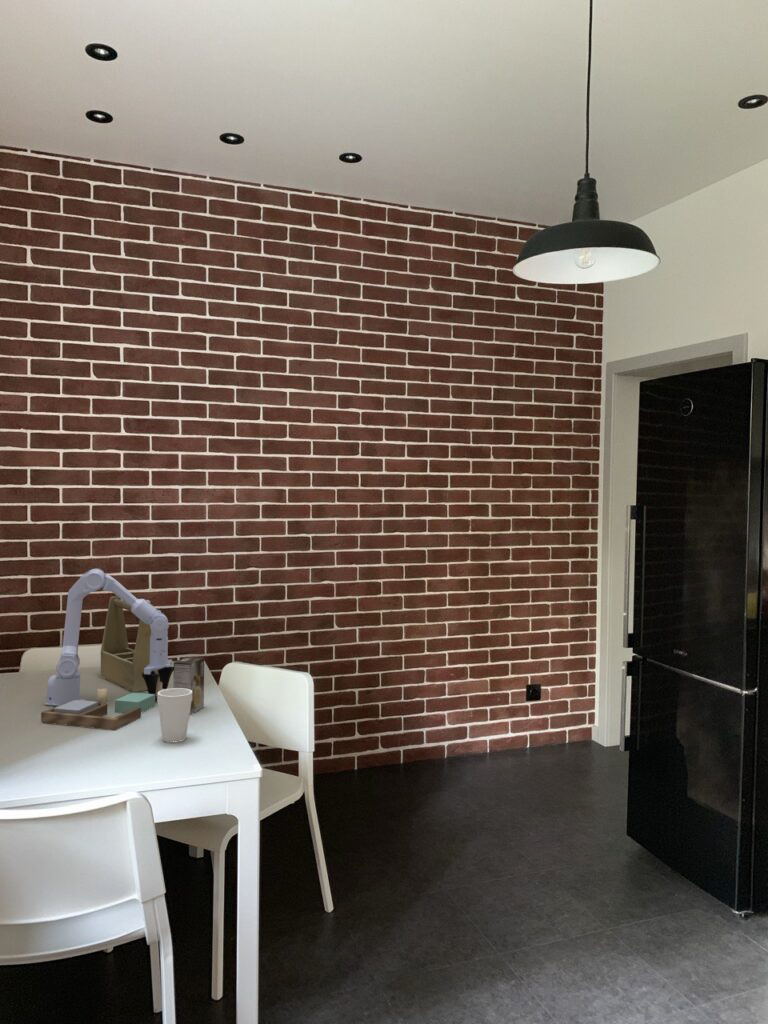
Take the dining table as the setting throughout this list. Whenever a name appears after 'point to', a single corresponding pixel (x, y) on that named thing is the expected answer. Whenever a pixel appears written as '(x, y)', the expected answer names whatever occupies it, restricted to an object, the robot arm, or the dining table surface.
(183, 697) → the foam cup
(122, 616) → the caddy
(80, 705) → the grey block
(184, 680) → the coffee box
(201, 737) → the dining table surface
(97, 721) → the tray
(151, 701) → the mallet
